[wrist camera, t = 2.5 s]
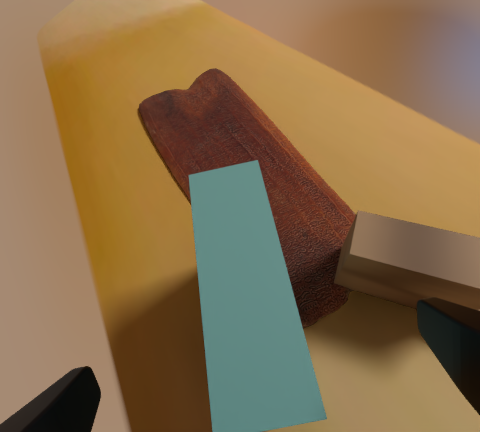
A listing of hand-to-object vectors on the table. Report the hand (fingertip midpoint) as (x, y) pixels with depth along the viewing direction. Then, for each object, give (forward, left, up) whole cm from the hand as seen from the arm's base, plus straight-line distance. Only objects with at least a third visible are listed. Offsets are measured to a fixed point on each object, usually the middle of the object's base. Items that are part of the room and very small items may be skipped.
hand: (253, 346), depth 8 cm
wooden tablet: (+14, +2, -11) cm, 18 cm away
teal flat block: (+2, 0, -10) cm, 10 cm away
